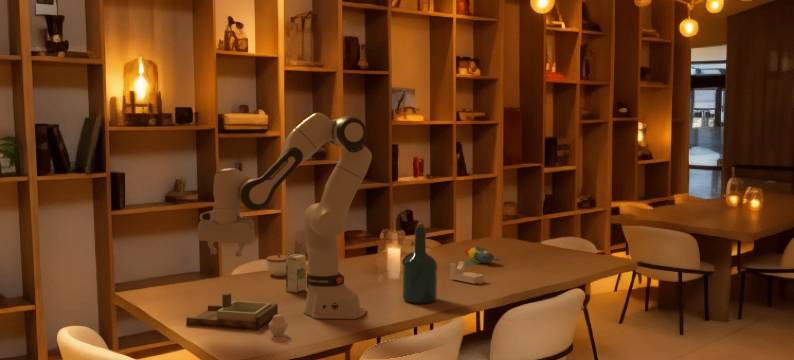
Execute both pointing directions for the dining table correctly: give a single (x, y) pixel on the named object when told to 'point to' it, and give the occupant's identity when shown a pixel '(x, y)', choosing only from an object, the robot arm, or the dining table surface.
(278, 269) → the lidded jar
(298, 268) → the syrup box
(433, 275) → the wine bottle
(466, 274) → the bracket
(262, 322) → the bay
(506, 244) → the dining table surface
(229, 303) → the drawer
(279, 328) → the muffin
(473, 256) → the green parrot figure
